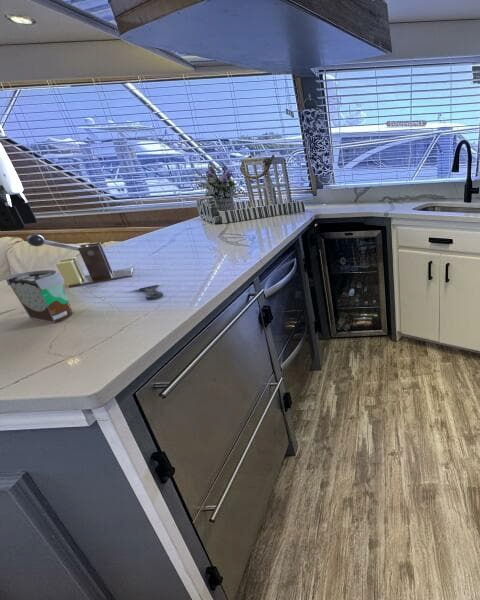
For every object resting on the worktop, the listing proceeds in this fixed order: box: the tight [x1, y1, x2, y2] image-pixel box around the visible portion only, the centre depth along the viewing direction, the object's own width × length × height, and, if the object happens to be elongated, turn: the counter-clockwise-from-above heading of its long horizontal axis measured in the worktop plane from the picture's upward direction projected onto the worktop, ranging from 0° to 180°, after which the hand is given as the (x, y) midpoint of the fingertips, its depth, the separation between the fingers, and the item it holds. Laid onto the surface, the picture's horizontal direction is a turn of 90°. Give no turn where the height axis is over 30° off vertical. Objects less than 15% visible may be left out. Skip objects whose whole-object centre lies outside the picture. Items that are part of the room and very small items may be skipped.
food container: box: [4, 269, 73, 324], centre depth 72 cm, size 12×6×10 cm, turn 71°
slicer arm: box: [26, 233, 79, 252], centre depth 89 cm, size 14×3×3 cm, turn 126°
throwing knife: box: [138, 284, 164, 300], centre depth 87 cm, size 4×20×1 cm, turn 44°
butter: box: [55, 256, 86, 287], centre depth 92 cm, size 3×8×6 cm, turn 36°
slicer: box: [67, 242, 134, 289], centre depth 94 cm, size 14×10×11 cm
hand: (20, 226), depth 62 cm, fingers open, 9 cm apart
